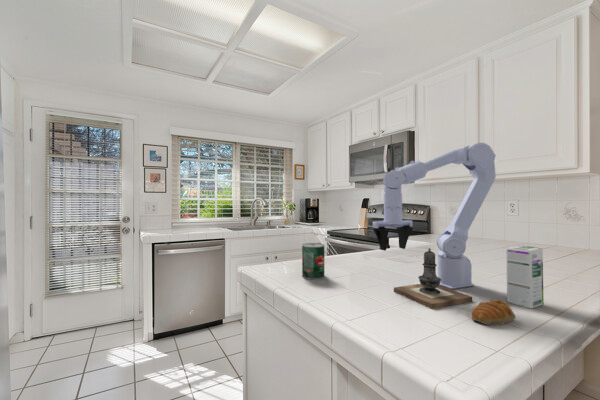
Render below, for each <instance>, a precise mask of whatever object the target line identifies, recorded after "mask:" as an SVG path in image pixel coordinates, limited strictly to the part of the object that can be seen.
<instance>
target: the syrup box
mask: <svg viewBox="0 0 600 400" xmlns="http://www.w3.org/2000/svg"><path fill="white" fill-rule="evenodd" d="M505 249H506V253H505V254H506V299H507V303H511V304H513V305H517V306H520V307H524V308H528V309H531V310H532V309H534V308H537V307H540V306H544V302H545V301H544V300H545V299H544V268H543V267H544V261H543V260H544V256H543V253H544V252H543V248H540V247H535V246H529V245H515V246H511V247H509V246H508V247H506V248H505Z"/></svg>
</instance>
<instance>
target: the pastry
mask: <svg viewBox="0 0 600 400" xmlns="http://www.w3.org/2000/svg"><path fill="white" fill-rule="evenodd" d="M515 318H516V314H515V313H514V311H513V309H512V308H511V307H510V305H509V304H508V302H505V301H503V300H500V299H496V300H494V299H490V300H489V301H482V302H480V303H478V304H477V305H476V306H475V307H473V310H472V312H471V319H472V320H473V321H477V322H478V323H482V324H484V325H488V326H492V325H500V326H501V325H504V324H507V323H508V324H509V323H511V322H513V321H514V319H515Z"/></svg>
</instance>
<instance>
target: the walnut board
mask: <svg viewBox="0 0 600 400" xmlns="http://www.w3.org/2000/svg"><path fill="white" fill-rule="evenodd" d="M422 287H423V286H422V285H421V284H420V283H417V284H409V285H403V286H395V287H393V292H394V293H396V294H398V295H400V296H403V297H404V296H405V298H407V299H409V300H411V301H413V302H415V301H416V303H418V304H420V305H422V306H424V305H425V306H424V307H426V306H427V307H426V308H428V307H429V309H432V310H434V309H439V308H444V307H449V306H454V305H460V304H464V303H465V304H466V303H472V302H473V301H474V300H473V299H474V298H473V296H472V295H468V294H466V293H463V292H460V291H457V290H454V289H450V288H447V287H444V286H442V285H439V286H438V287H437V288H436V289H438V290H439V291H440V293H439V294H426V293H423V292H421V291H420V290H419V289H420V288H422Z"/></svg>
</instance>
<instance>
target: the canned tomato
mask: <svg viewBox="0 0 600 400" xmlns="http://www.w3.org/2000/svg"><path fill="white" fill-rule="evenodd" d="M301 257H302V259H301V270H302V271H301V276H302V278H303V279H306V280H321V279H323V278H325V268H326V267H325V243H320V242H319V243H318V242H317V243H316V242H309V243H303V244H302V245H301Z"/></svg>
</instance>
